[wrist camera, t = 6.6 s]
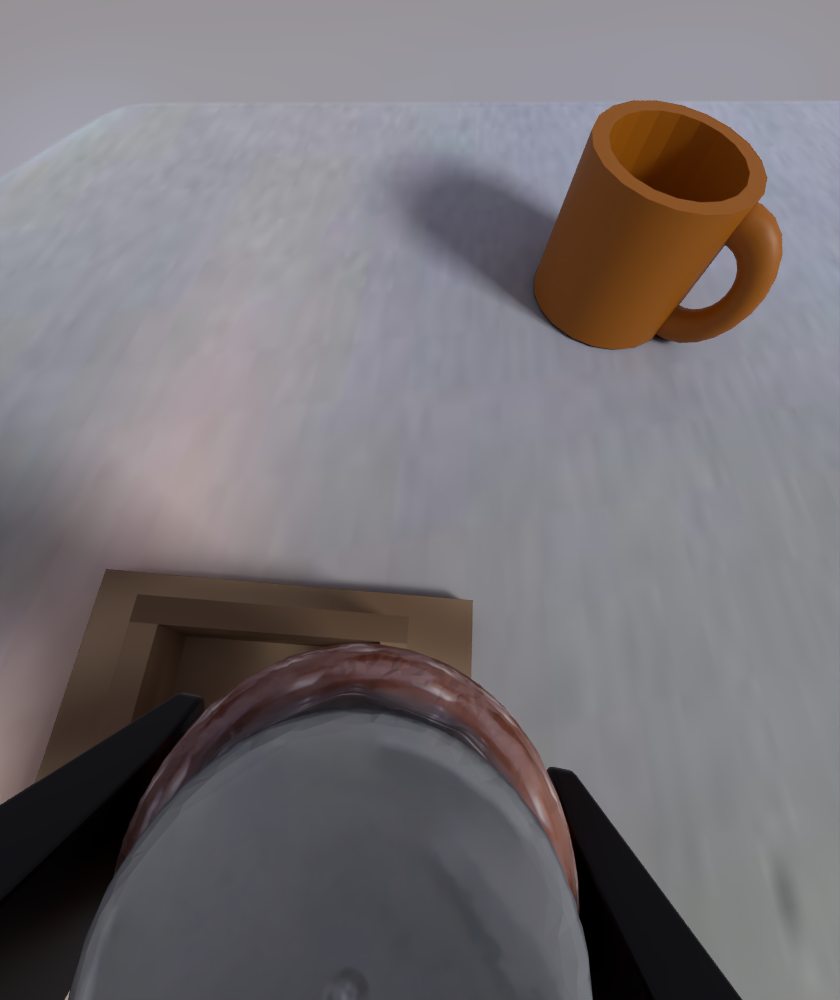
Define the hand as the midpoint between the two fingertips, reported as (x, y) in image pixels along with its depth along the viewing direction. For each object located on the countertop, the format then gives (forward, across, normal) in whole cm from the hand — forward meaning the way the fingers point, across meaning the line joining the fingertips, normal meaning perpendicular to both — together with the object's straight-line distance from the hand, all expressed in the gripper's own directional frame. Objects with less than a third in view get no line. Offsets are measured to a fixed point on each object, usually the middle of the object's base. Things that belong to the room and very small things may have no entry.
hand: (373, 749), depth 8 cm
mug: (+28, -10, -10) cm, 31 cm away
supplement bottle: (+4, 0, +6) cm, 7 cm away
